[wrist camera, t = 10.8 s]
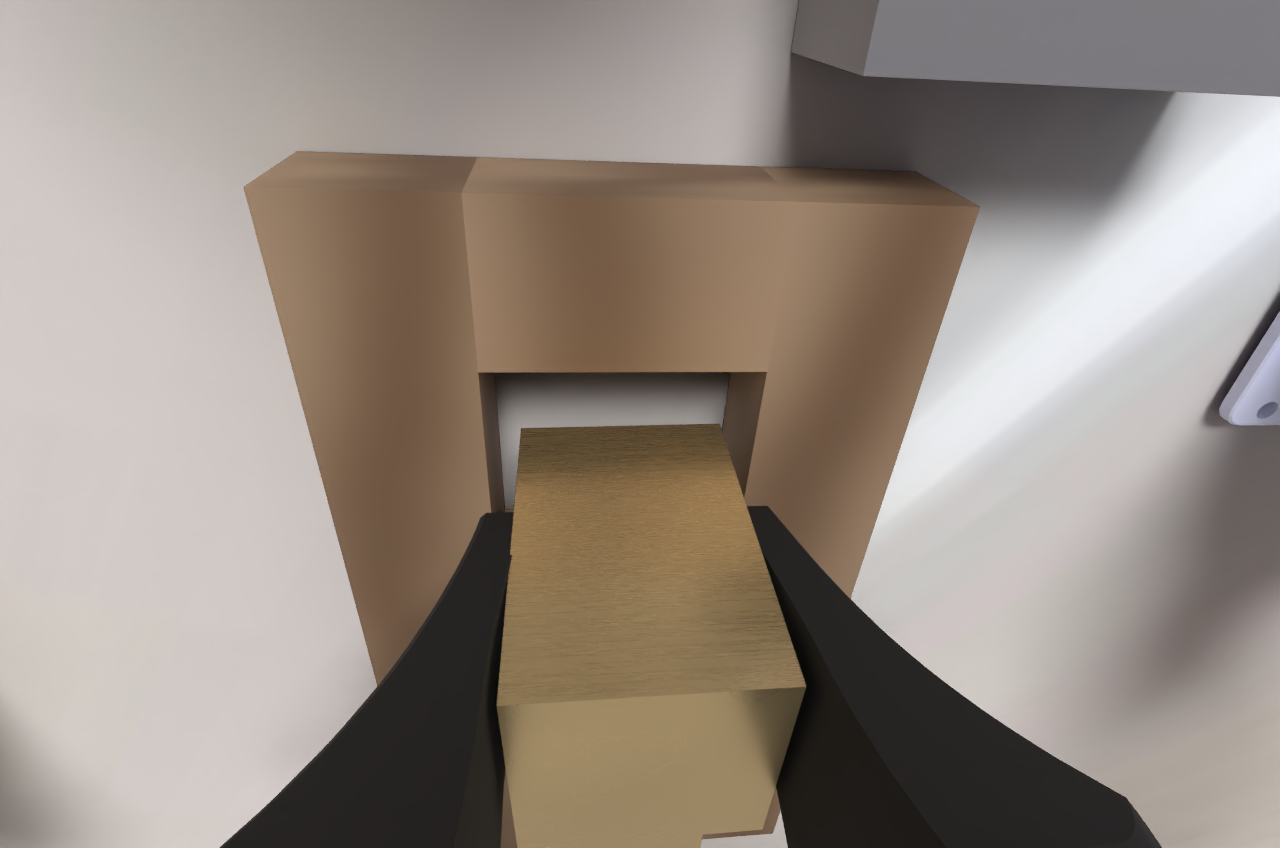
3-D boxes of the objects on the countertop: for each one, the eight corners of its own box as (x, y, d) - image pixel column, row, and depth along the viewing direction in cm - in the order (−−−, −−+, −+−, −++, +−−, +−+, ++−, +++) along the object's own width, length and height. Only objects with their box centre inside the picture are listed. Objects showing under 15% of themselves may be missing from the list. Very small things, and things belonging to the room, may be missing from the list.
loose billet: (719, 423, 14) (806, 686, 9) (701, 560, 16) (762, 829, 11) (521, 428, 13) (496, 705, 8) (532, 567, 16) (517, 850, 11)
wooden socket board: (916, 171, 14) (980, 206, 12) (755, 764, 26) (772, 833, 24) (297, 151, 12) (243, 186, 10) (436, 786, 24) (424, 861, 22)
